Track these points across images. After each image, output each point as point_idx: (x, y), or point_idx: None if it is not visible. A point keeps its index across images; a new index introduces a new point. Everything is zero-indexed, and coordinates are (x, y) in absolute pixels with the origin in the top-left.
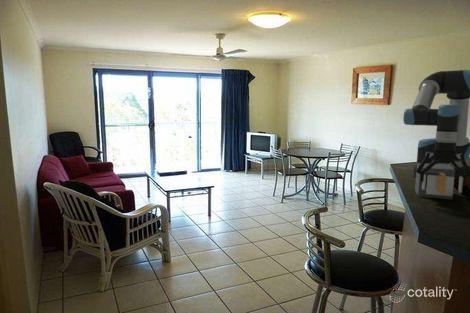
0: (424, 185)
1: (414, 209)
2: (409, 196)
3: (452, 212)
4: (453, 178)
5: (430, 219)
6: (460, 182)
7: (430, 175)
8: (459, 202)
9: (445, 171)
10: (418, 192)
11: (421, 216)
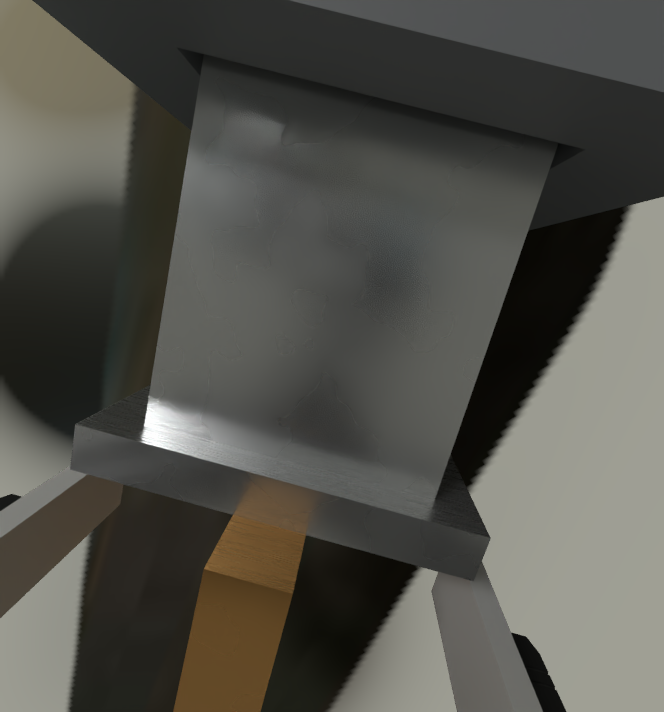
0: (80, 534)
1: (100, 541)
2: (152, 173)
3: (323, 586)
4: (459, 563)
5: (140, 705)
6: (457, 706)
7: (120, 447)
8: (520, 331)
9: (569, 110)
10: None
11: (107, 663)
